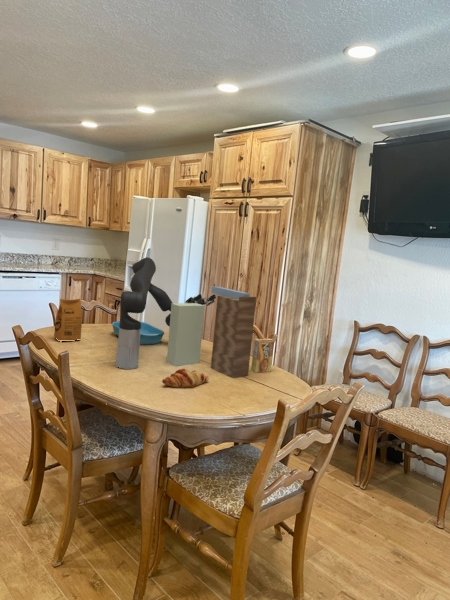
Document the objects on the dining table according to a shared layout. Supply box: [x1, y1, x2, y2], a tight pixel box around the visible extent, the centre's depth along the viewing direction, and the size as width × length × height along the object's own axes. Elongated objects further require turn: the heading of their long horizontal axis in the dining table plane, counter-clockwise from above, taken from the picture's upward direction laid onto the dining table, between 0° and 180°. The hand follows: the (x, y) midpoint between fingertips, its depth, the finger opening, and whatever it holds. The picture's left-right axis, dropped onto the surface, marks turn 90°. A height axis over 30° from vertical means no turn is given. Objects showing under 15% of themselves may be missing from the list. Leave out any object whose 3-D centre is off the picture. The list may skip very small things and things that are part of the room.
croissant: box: [161, 368, 210, 389], centre depth 171 cm, size 21×10×8 cm, turn 125°
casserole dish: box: [111, 320, 165, 345], centre depth 241 cm, size 37×22×7 cm, turn 37°
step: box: [166, 302, 206, 367], centre depth 200 cm, size 7×14×28 cm, turn 129°
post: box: [210, 295, 257, 379], centre depth 192 cm, size 16×9×36 cm, turn 39°
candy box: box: [250, 338, 275, 374], centre depth 199 cm, size 9×4×15 cm, turn 119°
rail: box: [211, 285, 250, 300], centre depth 194 cm, size 23×3×3 cm, turn 39°
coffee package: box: [53, 298, 83, 340], centre depth 221 cm, size 10×12×22 cm
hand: (208, 296), depth 206 cm, fingers open, 8 cm apart
